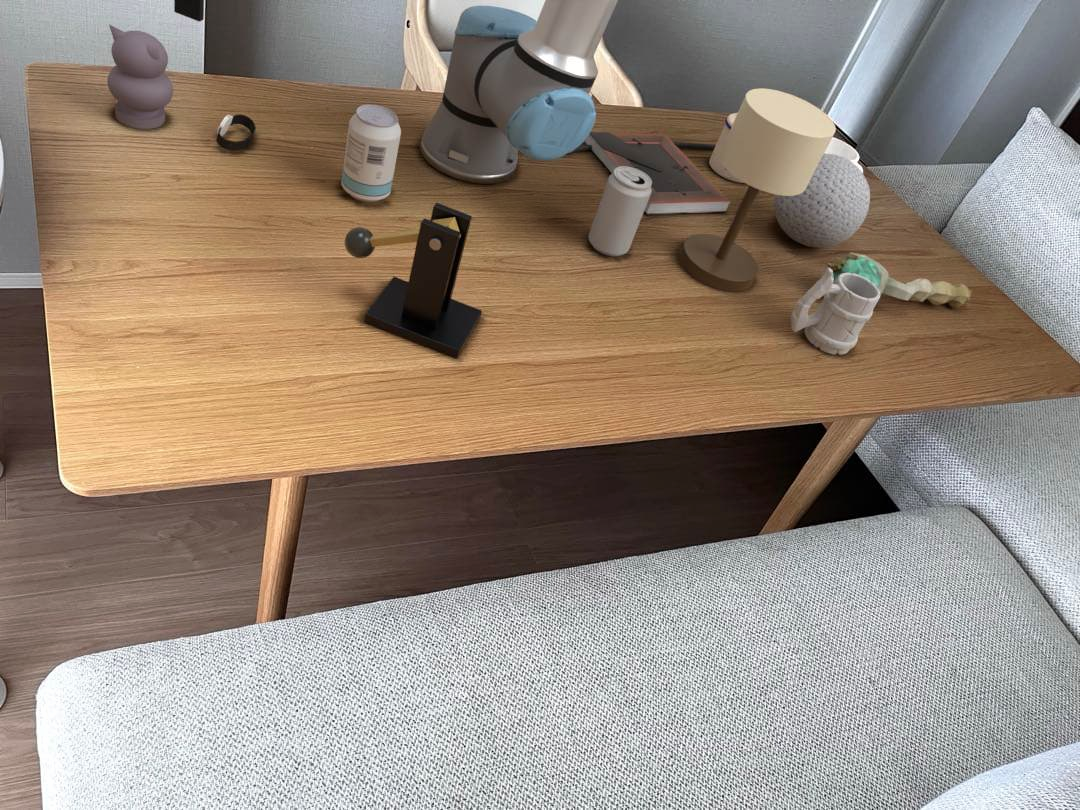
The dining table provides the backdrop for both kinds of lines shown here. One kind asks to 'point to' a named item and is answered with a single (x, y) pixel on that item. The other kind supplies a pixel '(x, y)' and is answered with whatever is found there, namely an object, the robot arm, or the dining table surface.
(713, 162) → the teacup with lid
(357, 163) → the beverage can
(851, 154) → the mug
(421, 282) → the switch bracket
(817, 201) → the decorative ball
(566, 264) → the dining table surface
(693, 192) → the picture frame
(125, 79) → the cat figurine
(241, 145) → the watch
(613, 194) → the beverage can
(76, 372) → the dining table surface
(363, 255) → the lamp switch
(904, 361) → the dining table surface
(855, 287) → the mug
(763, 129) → the lamp
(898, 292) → the scepter
